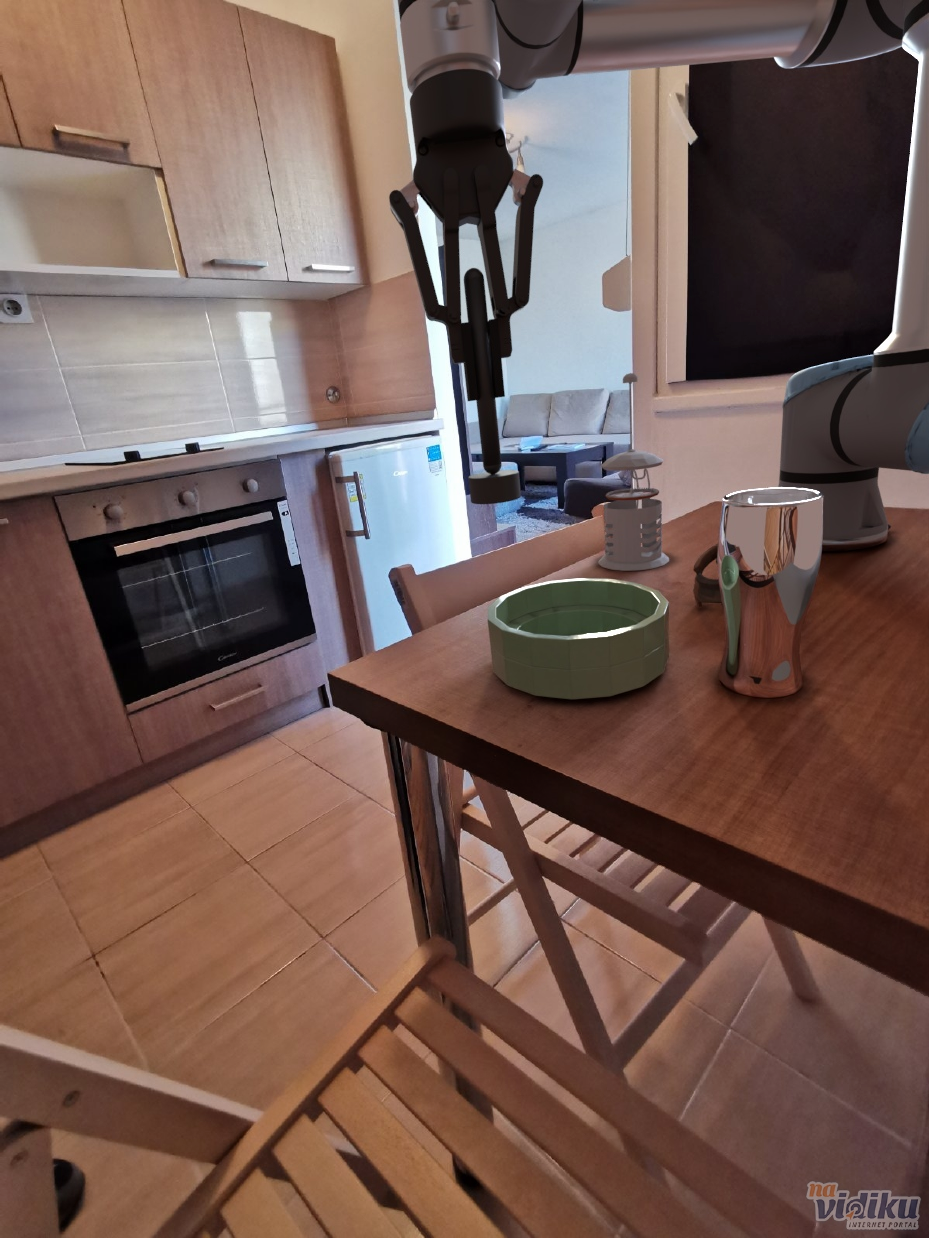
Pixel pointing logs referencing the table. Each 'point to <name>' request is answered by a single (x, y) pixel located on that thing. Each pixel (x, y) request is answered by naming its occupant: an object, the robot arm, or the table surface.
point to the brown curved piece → (706, 579)
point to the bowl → (579, 637)
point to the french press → (633, 513)
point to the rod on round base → (486, 403)
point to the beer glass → (767, 585)
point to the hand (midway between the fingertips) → (485, 398)
